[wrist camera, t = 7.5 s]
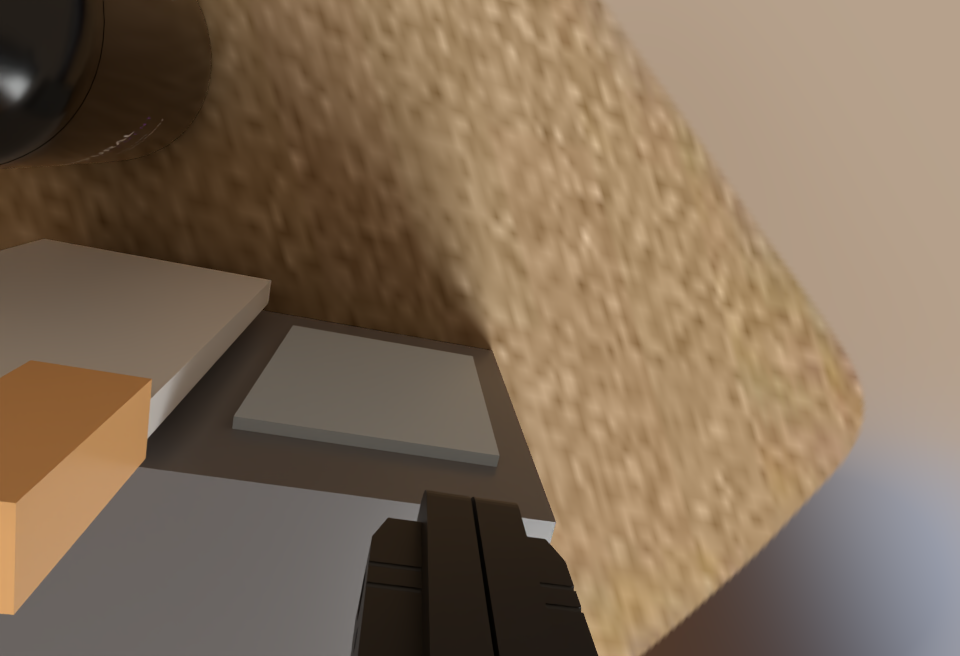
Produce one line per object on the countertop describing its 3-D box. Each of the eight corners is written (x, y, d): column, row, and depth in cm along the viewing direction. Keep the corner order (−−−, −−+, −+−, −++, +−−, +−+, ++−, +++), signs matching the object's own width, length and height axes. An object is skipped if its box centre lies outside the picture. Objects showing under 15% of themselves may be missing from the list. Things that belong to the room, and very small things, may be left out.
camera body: (9, 257, 21) (-474, 397, 9) (493, 342, 23) (568, 533, 12) (5, 523, 23) (-373, 880, 12) (440, 573, 26) (460, 906, 15)
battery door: (44, 226, 20) (-746, 410, 6) (272, 268, 21) (15, 503, 7) (43, 275, 20) (-701, 547, 7) (266, 314, 21) (14, 614, 8)
